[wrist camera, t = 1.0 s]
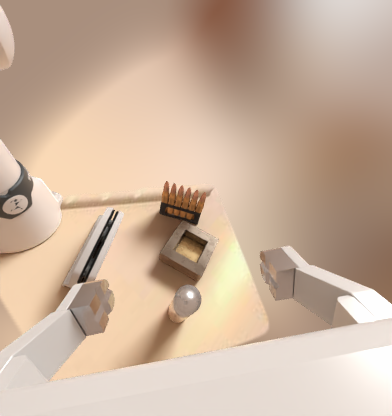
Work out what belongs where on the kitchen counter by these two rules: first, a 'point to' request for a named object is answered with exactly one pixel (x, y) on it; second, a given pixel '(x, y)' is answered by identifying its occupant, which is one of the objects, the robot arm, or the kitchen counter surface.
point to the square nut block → (189, 250)
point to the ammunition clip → (177, 210)
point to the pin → (184, 303)
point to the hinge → (84, 261)
